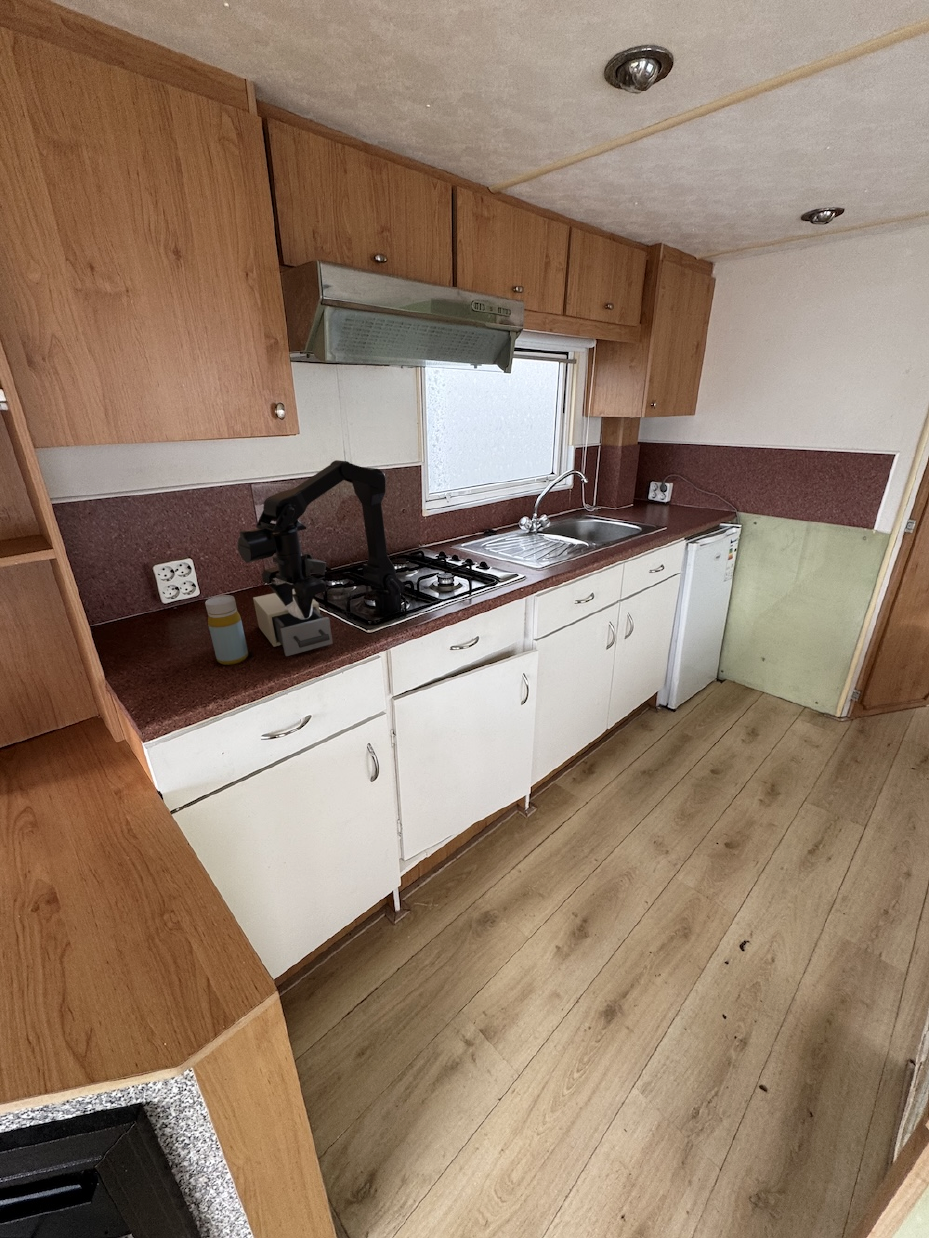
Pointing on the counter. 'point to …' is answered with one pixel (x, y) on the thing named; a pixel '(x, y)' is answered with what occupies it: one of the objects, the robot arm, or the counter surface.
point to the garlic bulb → (296, 610)
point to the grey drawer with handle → (302, 632)
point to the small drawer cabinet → (272, 613)
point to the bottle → (226, 630)
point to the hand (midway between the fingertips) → (298, 614)
